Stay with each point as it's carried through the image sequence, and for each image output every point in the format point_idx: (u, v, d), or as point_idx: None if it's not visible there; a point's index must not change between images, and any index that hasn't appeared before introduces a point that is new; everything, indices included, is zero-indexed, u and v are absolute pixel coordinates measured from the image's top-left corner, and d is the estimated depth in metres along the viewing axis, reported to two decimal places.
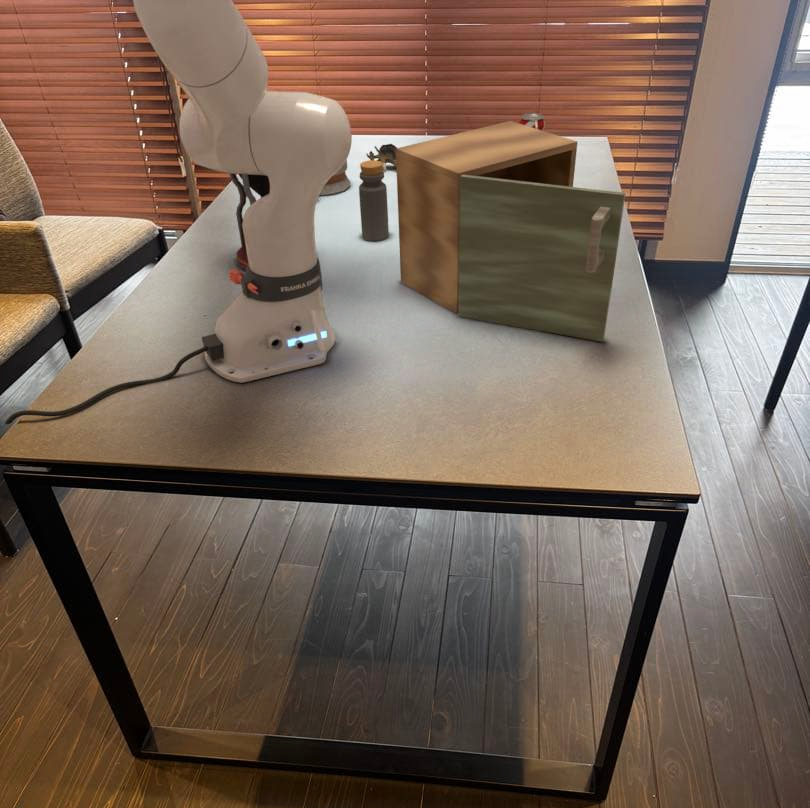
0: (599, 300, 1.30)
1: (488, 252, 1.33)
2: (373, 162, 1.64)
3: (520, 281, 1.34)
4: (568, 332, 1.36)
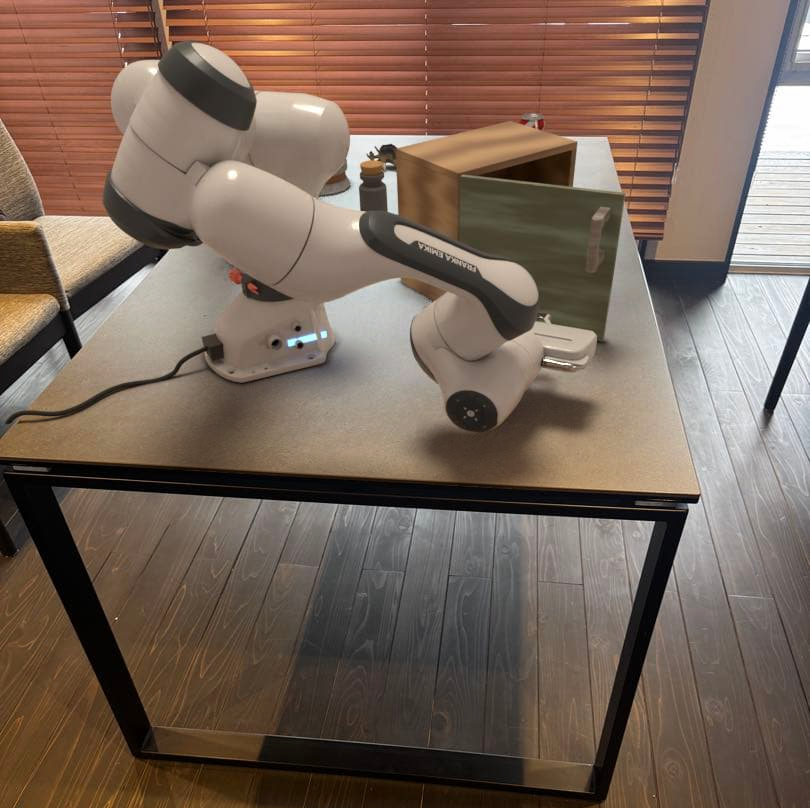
0: (599, 300, 1.30)
1: (488, 252, 1.33)
2: (373, 162, 1.64)
3: None
4: None
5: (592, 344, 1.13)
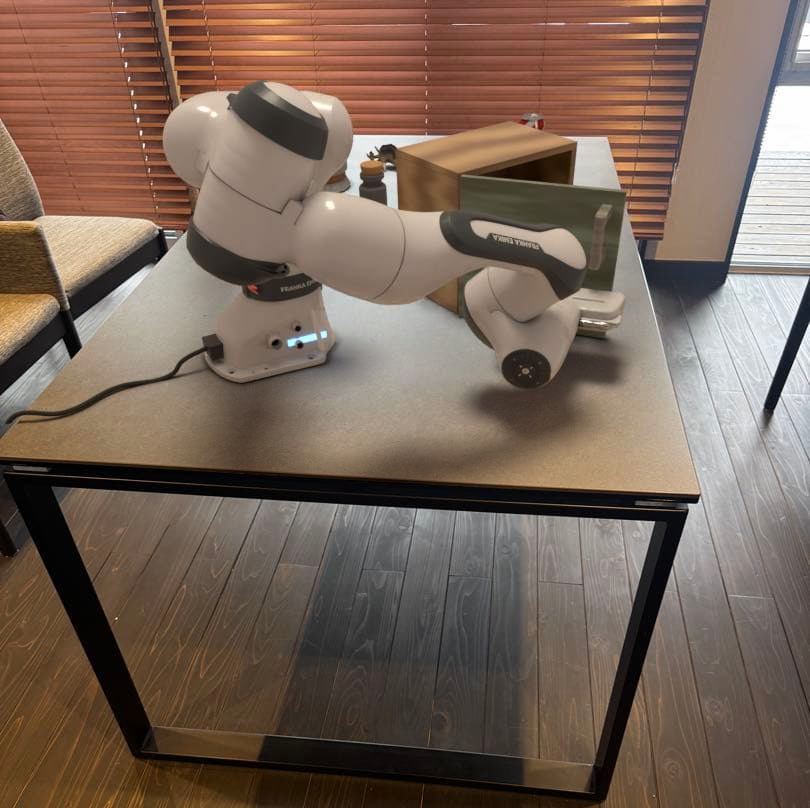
0: None
1: None
2: (373, 162, 1.64)
3: None
4: None
5: (622, 305, 1.22)
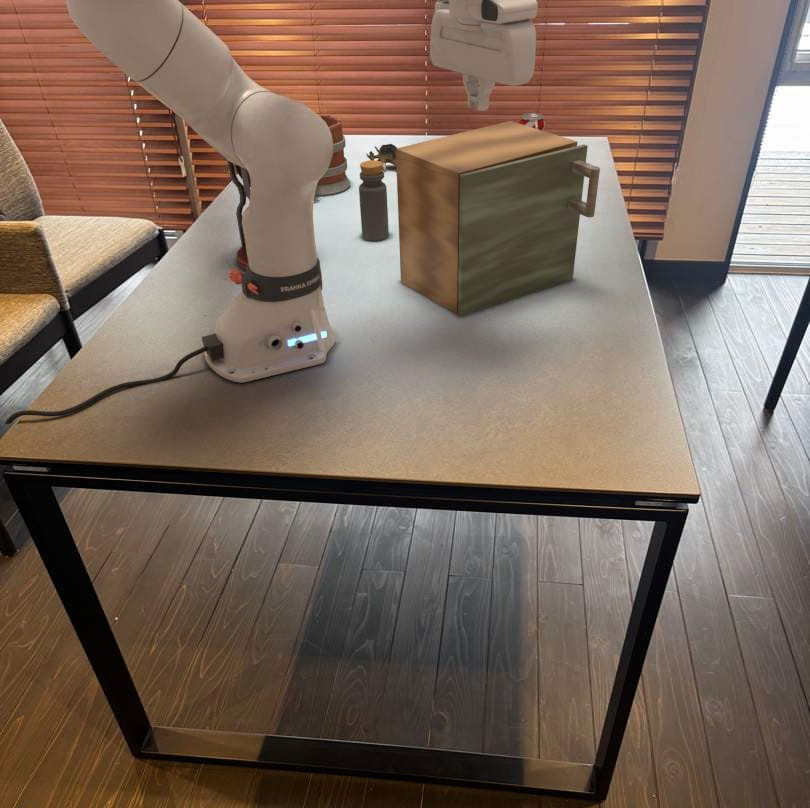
0: (570, 244, 1.47)
1: (487, 241, 1.37)
2: (373, 162, 1.64)
3: (512, 256, 1.42)
4: (548, 284, 1.50)
5: None
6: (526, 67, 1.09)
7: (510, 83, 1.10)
